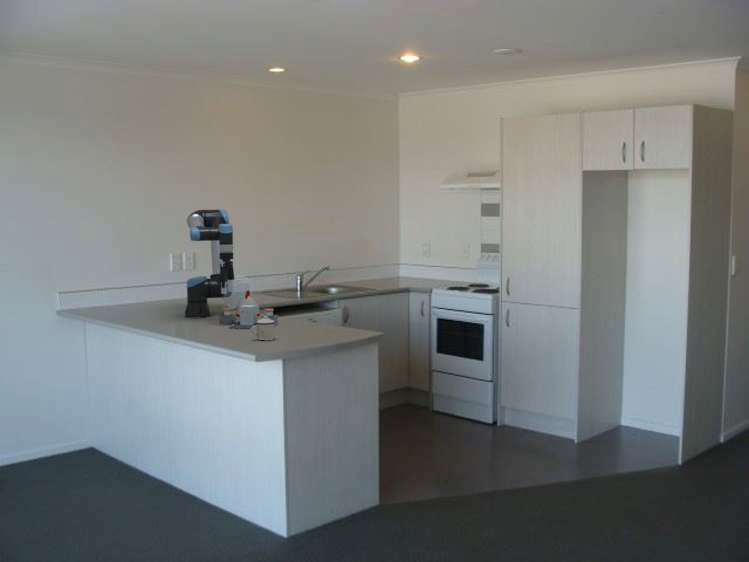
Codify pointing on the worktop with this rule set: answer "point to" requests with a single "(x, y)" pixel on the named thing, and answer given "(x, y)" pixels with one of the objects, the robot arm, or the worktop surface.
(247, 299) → the white red kettle
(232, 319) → the housing
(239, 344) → the worktop surface
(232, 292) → the heart
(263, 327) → the teacup with lid
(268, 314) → the plunger
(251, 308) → the small box
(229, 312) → the plunger
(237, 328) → the mat
